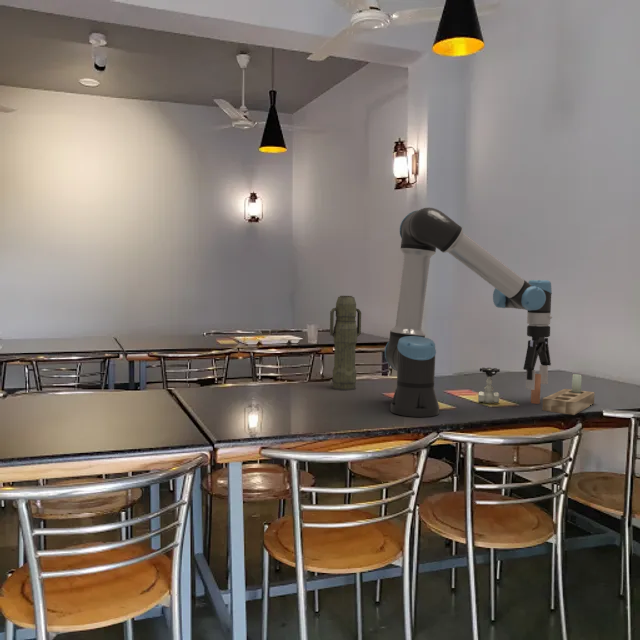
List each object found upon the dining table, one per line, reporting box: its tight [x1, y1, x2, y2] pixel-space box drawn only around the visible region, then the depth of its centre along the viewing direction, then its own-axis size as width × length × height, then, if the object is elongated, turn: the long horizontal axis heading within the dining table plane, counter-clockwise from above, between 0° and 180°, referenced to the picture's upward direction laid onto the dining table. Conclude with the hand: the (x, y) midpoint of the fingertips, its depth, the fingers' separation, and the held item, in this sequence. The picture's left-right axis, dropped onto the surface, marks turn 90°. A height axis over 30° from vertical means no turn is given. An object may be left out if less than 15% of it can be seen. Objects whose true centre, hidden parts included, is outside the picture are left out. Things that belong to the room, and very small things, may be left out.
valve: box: [478, 367, 501, 404], centre depth 217 cm, size 7×7×12 cm
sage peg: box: [571, 373, 583, 394], centre depth 220 cm, size 3×3×10 cm
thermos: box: [329, 295, 362, 391], centre depth 240 cm, size 9×12×35 cm
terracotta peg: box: [530, 373, 542, 405], centre depth 219 cm, size 3×3×10 cm
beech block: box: [541, 388, 596, 416], centre depth 214 cm, size 10×24×4 cm, turn 143°
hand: (536, 386), depth 219 cm, fingers open, 13 cm apart
